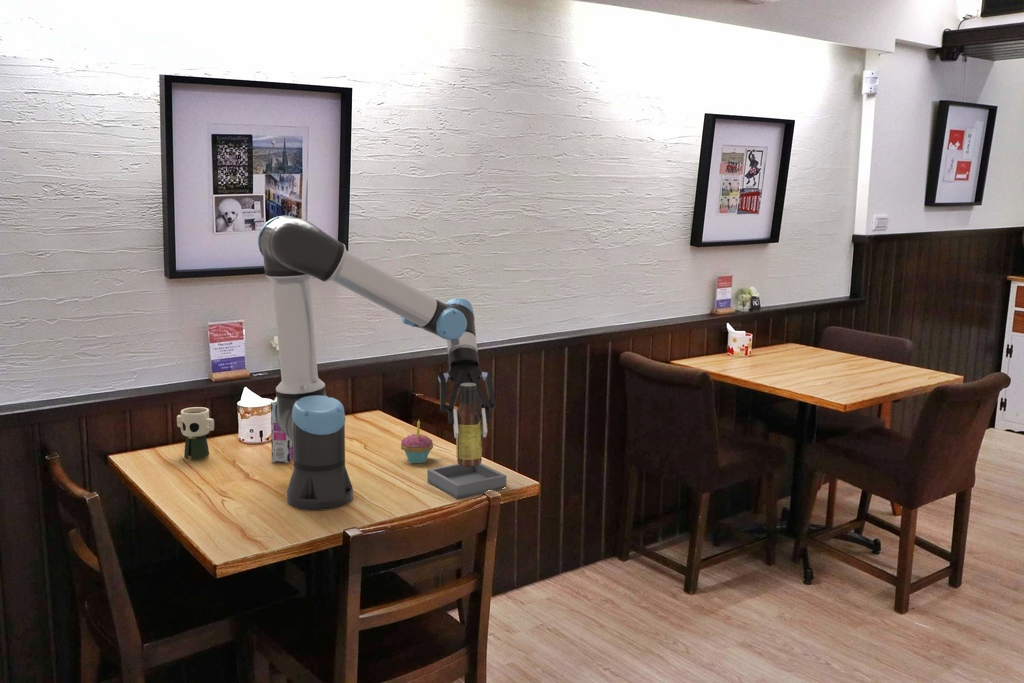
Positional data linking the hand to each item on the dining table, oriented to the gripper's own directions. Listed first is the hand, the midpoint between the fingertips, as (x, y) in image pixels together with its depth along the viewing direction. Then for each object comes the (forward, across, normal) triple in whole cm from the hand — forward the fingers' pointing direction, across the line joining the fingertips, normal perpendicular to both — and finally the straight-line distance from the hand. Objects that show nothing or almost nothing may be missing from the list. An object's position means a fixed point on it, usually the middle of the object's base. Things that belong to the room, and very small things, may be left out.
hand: (470, 434), depth 220 cm
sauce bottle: (+4, 0, -9) cm, 9 cm away
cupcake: (-7, +11, -27) cm, 30 cm away
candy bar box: (-12, +45, -32) cm, 57 cm away
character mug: (-13, +68, -33) cm, 77 cm away
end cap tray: (+7, 0, -12) cm, 14 cm away
